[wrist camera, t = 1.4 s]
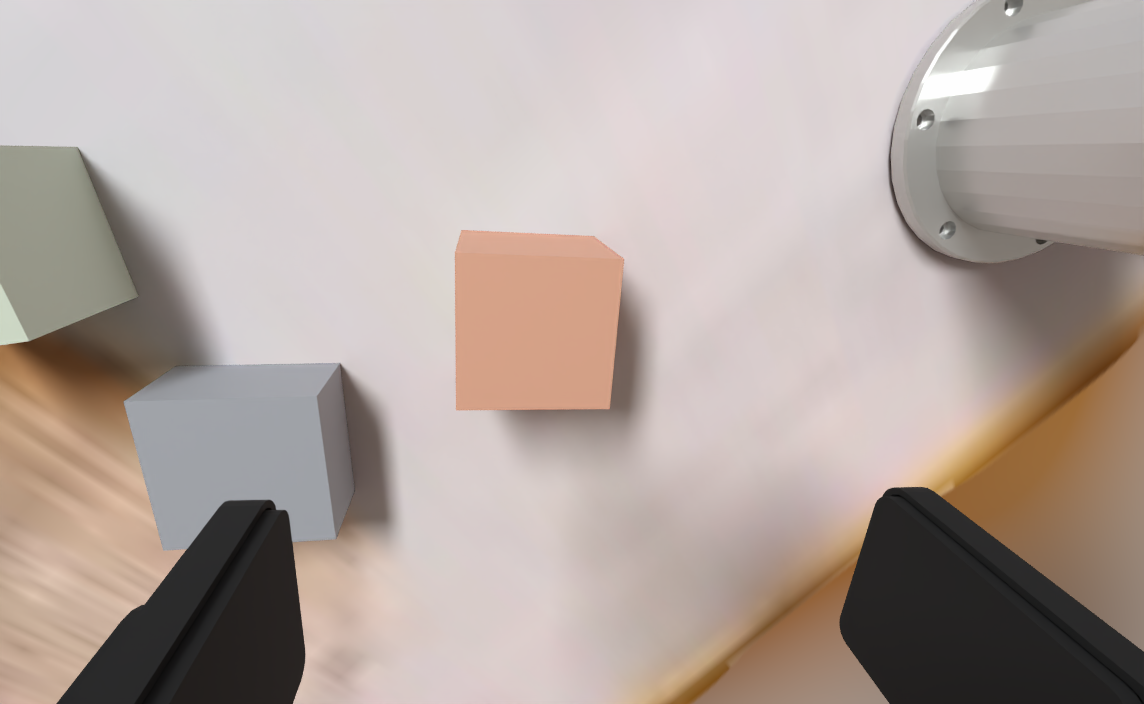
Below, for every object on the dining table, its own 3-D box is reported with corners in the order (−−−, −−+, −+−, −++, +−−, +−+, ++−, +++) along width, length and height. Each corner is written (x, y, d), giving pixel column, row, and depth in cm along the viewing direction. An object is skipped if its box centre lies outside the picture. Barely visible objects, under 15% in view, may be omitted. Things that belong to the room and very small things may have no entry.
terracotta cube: (593, 235, 25) (624, 259, 20) (583, 356, 27) (609, 409, 22) (461, 229, 24) (454, 252, 19) (462, 355, 26) (456, 410, 21)
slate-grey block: (341, 361, 26) (316, 396, 22) (355, 488, 28) (335, 539, 24) (178, 364, 24) (123, 401, 21) (208, 495, 27) (163, 550, 23)
